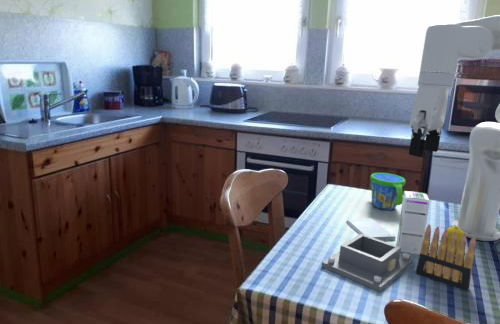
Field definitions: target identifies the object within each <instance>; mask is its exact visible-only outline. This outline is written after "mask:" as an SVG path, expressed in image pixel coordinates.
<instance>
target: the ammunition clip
mask: <svg viewBox="0 0 500 324" xmlns="http://www.w3.org/2000/svg"><path fill="white" fill-rule="evenodd" d="M443 232H444V233H443ZM443 232H442V234H443V236H442V235H441V237H442V240H441V239H440V227H439V226H437V227H435V230H434V232H433V236H432V235H431V233H432V227H431V224H430V223H429V224H428V225H426V229H425V235H424V239H423V242H422V246H421V252H420V255H418V256H419V257H418V261H417V265H416V269H415V275H418V276H421V277H423V278H426V279H429V280H432V281H435V282H438V283H441V284H444V285H446V286H450V287H452V288H455V289H458V288H459V290H461V289H462V291H464V290H465V291H464V292H468V291H469V289H470V284H471V277H472V271H473V265H474V261H475V251H476V243H477V242H476V239H475V236H473V238H470V241H469V244H468V248H467V252H466V246H467V237H466V235H465V234H463V236H462V238H461V240H460V244H459V247H458V250H457V253H456V242H457V233H456V231H455V232H454V233H453V235H452V237H451V241H450V244H449V247H448V250H447V241H448V230H447V228H446V229H444V231H443ZM431 236H432V241H431ZM439 240H440V241H439ZM439 242H440V243H439ZM446 252H447V253H446ZM455 253H456V255H455Z"/></svg>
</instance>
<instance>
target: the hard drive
mask: <svg viewBox="0 0 500 324" xmlns="http://www.w3.org/2000/svg"><path fill="white" fill-rule="evenodd" d="M346 223H347V225H349V226H350V228H352V229H353V230H354V231H355V232H356V233H358V235H360V234H364V235H367V236H370V237H373V238H376V239H379V240H381V241H384V242H385V241H396V240H397V236H396V235H394V234H392V233H391V232H390V231H389V230H387V229H386V228H385V227H383V226H382V225H381V224H380V223H378V222H377V221H376V220H374V219H372V218H354V219H347V220H346Z"/></svg>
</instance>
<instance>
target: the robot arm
mask: <svg viewBox="0 0 500 324" xmlns="http://www.w3.org/2000/svg"><path fill="white" fill-rule="evenodd" d="M495 51H500V14H498V15H497V14H496V15H490V16H487V17H486V16H485V17H482V18H478V19H471V20H466V21H461V22H460V21H459V22H455V23H447V22H446V23H441V22H440V23H433V24H430V25H429V26H428V27H427V29H426V32H425V37H424V44H423V50H422V56H421V62H420V63H421V64H420V68H419V74H418V81H417V86H418V88H417V91H416V95H415V98H414V103H413V107H412V112H411V116H410V121H409V127H410V129H411V136H410V137H411V138H410V142H409V144H410V145H409V148H408V149H409V150H408V154H409V155H410V156H413V157H418V158H423V157H424V155H425V151H429V152H434V153H437V152H438V151H439V147H440V140H441V134H442V128H443V126H444V124H445V119H446V115H447V109H448V108H447V107H448V101H449V91H450V89H454V84H455V79H456V73H457V66H458V63H459V62H458V61H459V60H460V61H477V60H481V59H483V58H485V57H486V56H488V55H489V54H490V53H491V52H495ZM494 117H495V119H496V121H497V122H496V121H484V122H480V123H478V124H476V125H475V126H474V127H473V128H472V130H471V132H470V134H469V141H468V142H469V143H468V144H469V147H468V149H469V154H468V155H469V156H468V165H467V171H466V176H465V181H464V186H463V191H462V197H461V202H460V207H459V211H458V212H459V213H458V216H457V220H456V219H455V220H453V221H451V222H450V227H454V226H457V227H458V228H459V229H461V230H462V231H463V232H464V234H465V235H466V238H469V239H472V238H473V236H475V239H476V240H477V241H483V242H484V241H485V242H495V241H497V240H499V239H500V231H499V230H498V229H497V228H496V225H497V220H498V218H499V217H498V216H499V212H500V103H499V104H498V106H497V107H496V110H495V115H494Z"/></svg>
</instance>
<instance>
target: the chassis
mask: <svg viewBox="0 0 500 324" xmlns="http://www.w3.org/2000/svg"><path fill="white" fill-rule="evenodd" d="M402 253H403V254H402ZM414 260H415V258H413V257H410V253H404V252H401V247H399V246H397V244H393V243H390V242H386V241H385V240H384V241H381V240H379V239H376V238H373V237H370V236H367V235H364V234H358V235H357V236H355V237H353V238H351V239H349V240H348V241H346V242H344V243H342V244H341V245H340V248H339V251H338V252H336V253H335V254H333V255H332V256H329V257H328V258H326V259H325V260H323V261H322V262H321V268H323V269H326V270H327V271H331V272H332V273H334V274H337V275H339V276H341V277H344V278H347V280H351V281H353V282H355V283H357V284H360V285H361V286H365V287H367V288H369V289H372V290H374V291H376V292H379V293H381V292H382V291H383V290H384V289H385V288H387V287H388V286H389V285H390V284H392V283H393V282H394V281H395V280H396V279H397V278H398V277H400V276H401V275H402V274H403V273H404V272H406V270H408V269H409V268H410V267H411V266H412V265H413V264H414V262H415V261H414Z"/></svg>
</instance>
